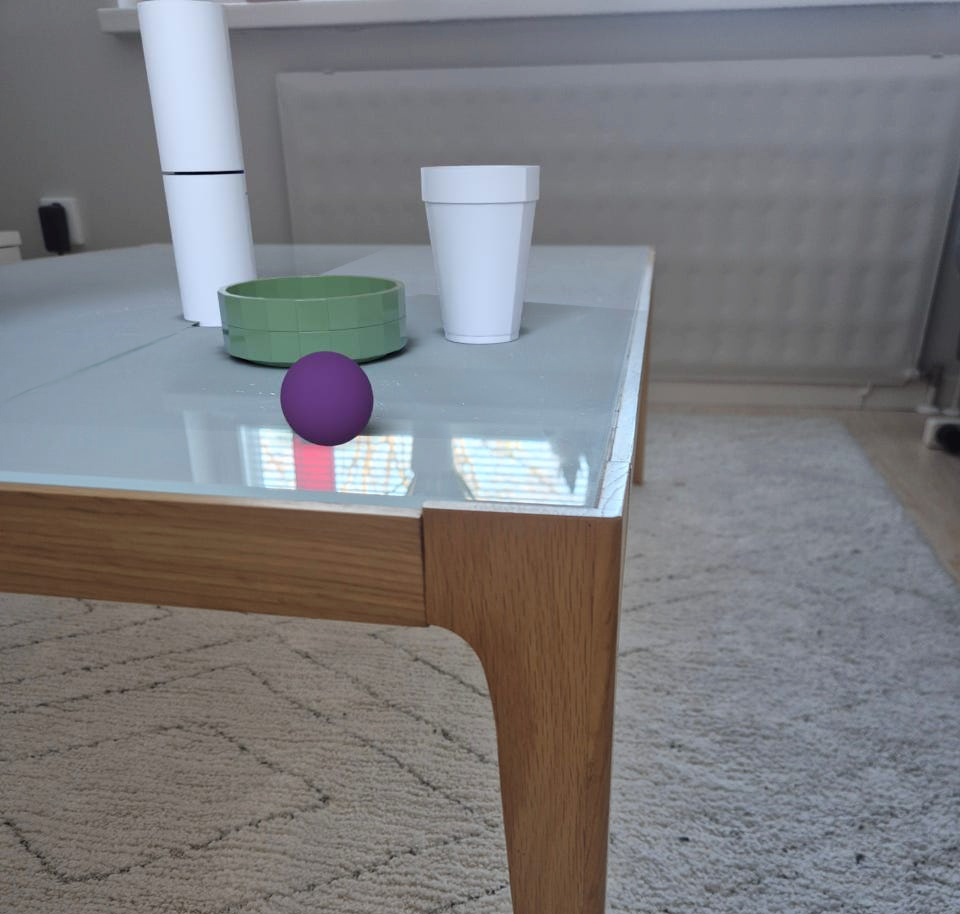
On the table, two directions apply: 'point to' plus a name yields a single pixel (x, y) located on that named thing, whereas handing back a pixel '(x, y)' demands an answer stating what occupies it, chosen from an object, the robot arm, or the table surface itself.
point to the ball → (326, 398)
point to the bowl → (313, 317)
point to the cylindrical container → (199, 149)
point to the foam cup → (481, 246)
